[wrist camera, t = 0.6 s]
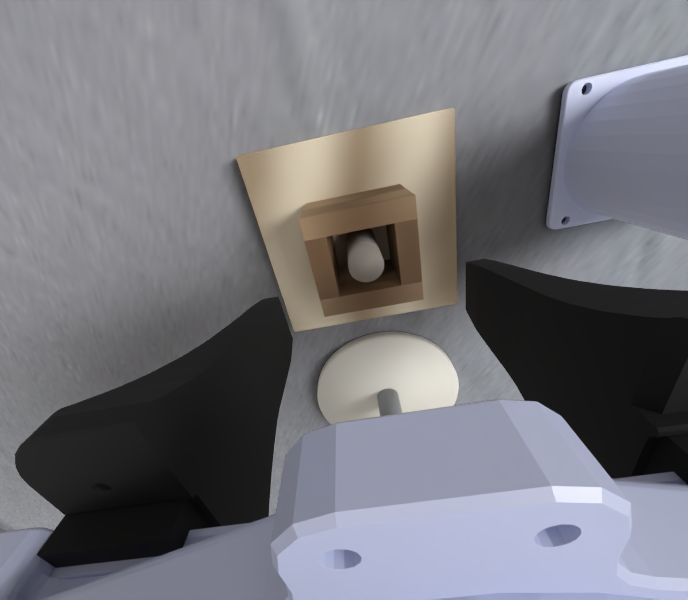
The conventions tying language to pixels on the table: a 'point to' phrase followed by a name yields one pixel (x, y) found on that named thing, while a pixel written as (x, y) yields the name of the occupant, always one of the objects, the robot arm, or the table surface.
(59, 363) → the table surface
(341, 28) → the table surface
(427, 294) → the birch stand
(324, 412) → the cream plate
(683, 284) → the table surface
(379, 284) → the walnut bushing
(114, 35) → the table surface
